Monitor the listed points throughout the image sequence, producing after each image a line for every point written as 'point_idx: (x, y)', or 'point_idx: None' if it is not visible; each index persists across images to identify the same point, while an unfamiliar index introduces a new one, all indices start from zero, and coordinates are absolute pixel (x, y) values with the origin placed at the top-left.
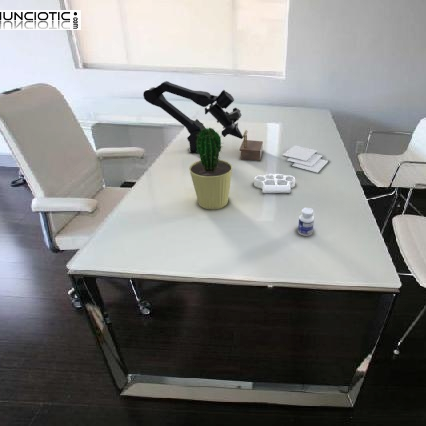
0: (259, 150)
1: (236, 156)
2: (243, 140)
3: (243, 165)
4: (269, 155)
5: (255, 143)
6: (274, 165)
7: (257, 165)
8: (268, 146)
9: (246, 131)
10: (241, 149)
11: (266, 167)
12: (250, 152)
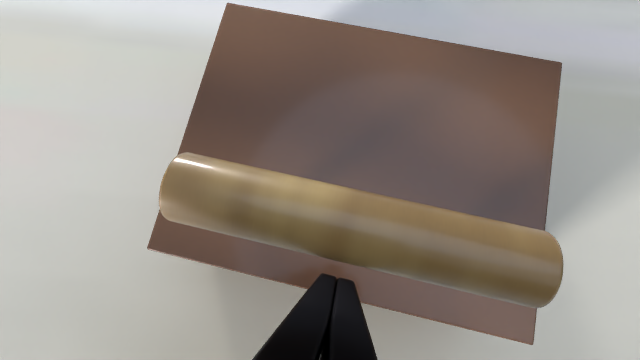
0: (548, 69)
1: (389, 342)
2: (174, 250)
3: (617, 284)
4: (362, 23)
5: (299, 96)
6: (581, 7)
7: (599, 148)
8: (152, 9)
9: (247, 180)
10: (536, 311)
11: (633, 75)
12: None
